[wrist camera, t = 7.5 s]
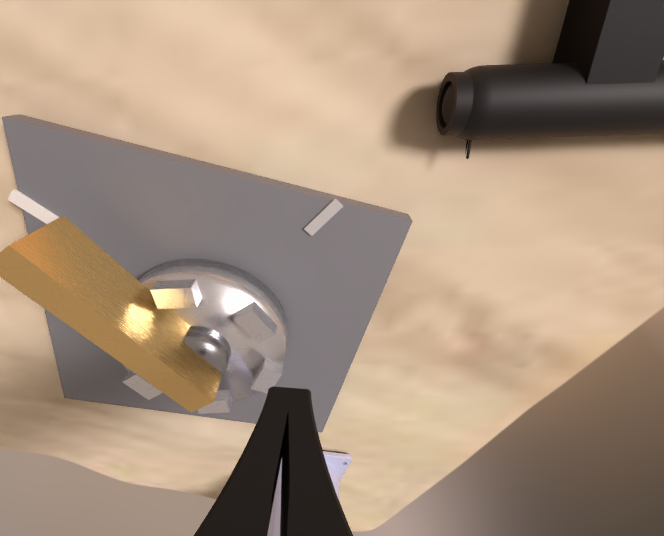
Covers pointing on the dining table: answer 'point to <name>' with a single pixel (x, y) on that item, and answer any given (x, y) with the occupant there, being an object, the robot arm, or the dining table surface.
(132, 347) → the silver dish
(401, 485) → the dining table surface
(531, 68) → the door handle
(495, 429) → the dining table surface
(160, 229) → the nut board
